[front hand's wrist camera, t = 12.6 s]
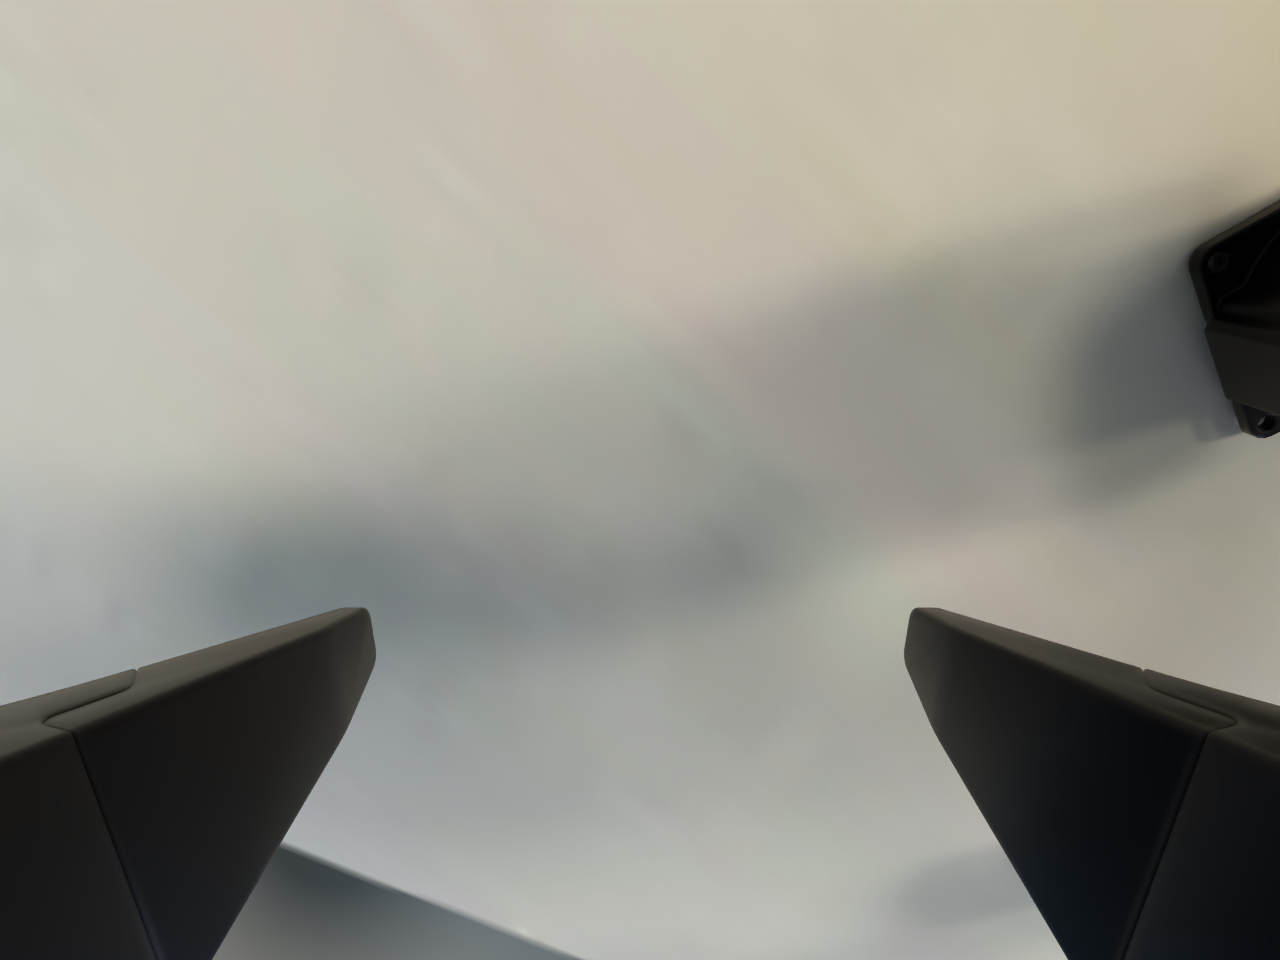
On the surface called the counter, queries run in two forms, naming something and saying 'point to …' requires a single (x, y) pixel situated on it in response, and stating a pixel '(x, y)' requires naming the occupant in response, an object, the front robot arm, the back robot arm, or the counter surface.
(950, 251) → the counter surface
